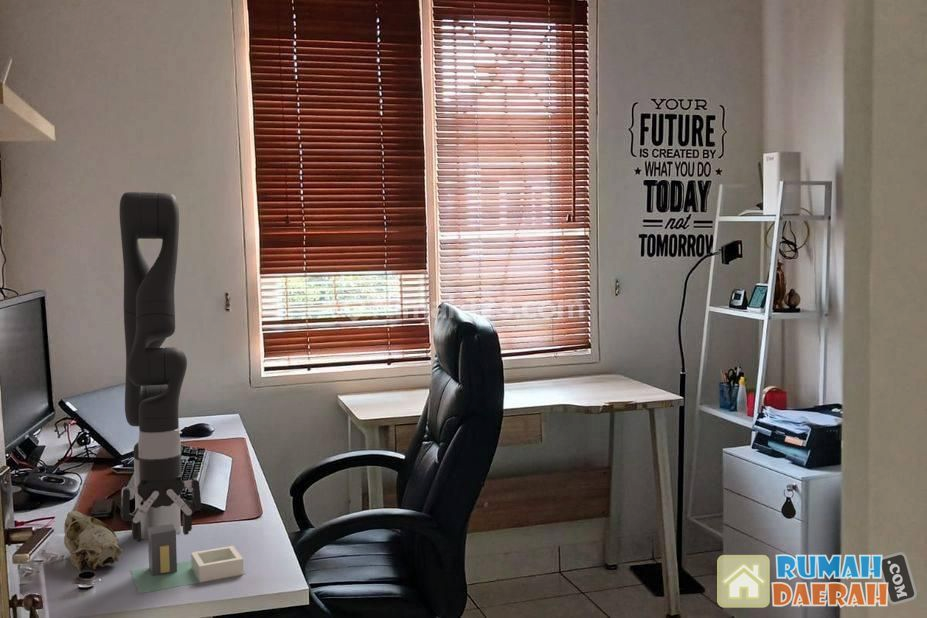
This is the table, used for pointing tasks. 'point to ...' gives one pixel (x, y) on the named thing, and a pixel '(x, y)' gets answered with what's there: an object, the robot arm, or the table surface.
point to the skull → (90, 541)
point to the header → (216, 563)
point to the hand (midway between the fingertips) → (162, 537)
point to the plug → (162, 549)
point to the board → (165, 578)
